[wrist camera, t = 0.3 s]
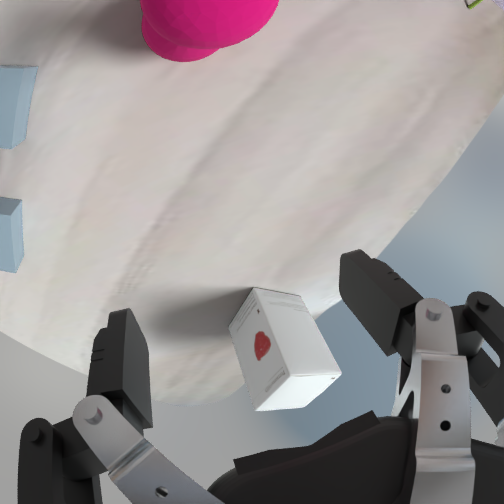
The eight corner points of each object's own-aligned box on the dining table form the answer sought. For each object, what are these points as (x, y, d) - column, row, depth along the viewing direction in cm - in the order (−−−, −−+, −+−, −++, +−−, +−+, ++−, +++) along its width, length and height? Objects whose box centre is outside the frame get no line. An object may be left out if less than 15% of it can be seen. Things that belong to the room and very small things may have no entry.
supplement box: (252, 285, 42) (291, 375, 31) (301, 294, 47) (345, 373, 35) (225, 327, 46) (252, 412, 35) (273, 333, 51) (305, 408, 39)
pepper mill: (168, 76, 24) (182, 104, 8) (130, 19, 19) (75, -54, 4) (235, 39, 23) (364, 21, 8) (200, -19, 19) (278, -124, 3)
